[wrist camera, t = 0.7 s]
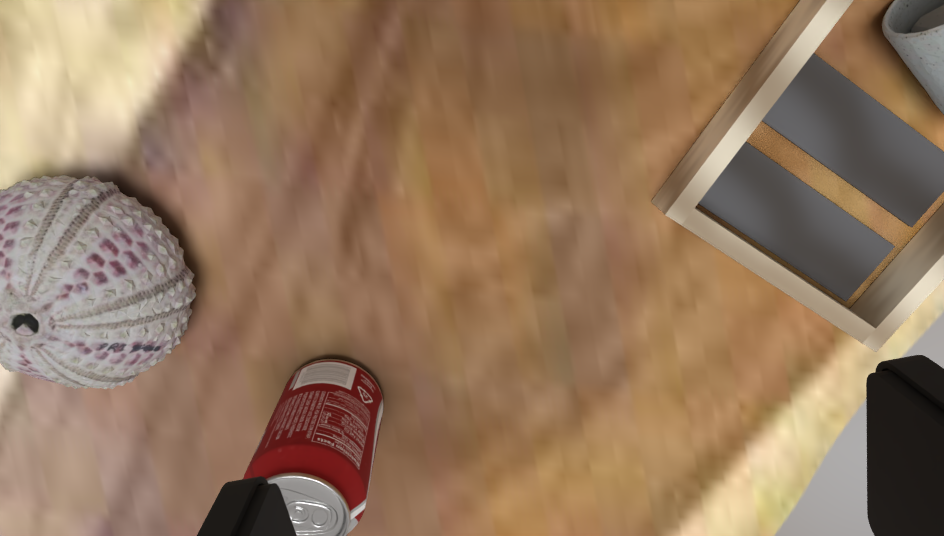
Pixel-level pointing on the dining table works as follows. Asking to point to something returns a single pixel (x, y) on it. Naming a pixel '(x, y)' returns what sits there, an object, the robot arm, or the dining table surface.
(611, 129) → the dining table surface
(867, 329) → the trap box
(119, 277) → the sea urchin shell
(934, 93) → the ceramic mug
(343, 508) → the soda can
